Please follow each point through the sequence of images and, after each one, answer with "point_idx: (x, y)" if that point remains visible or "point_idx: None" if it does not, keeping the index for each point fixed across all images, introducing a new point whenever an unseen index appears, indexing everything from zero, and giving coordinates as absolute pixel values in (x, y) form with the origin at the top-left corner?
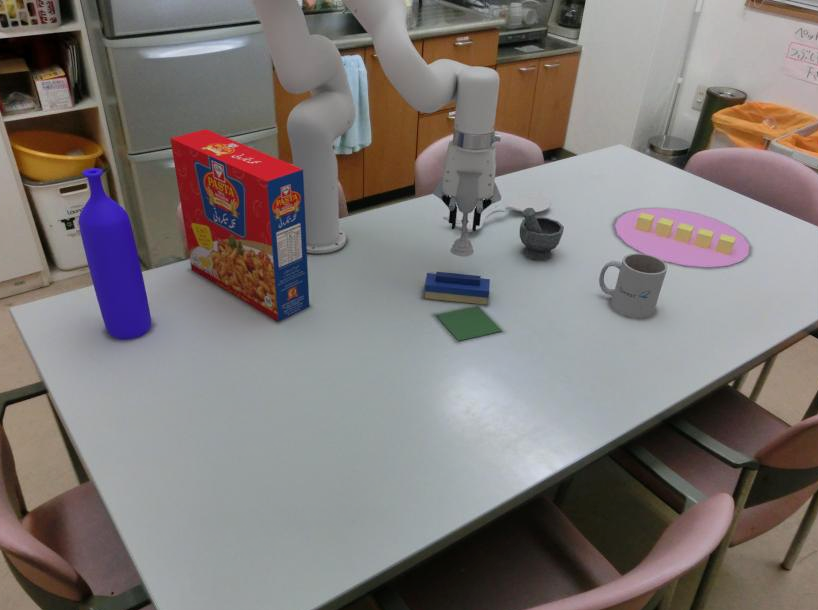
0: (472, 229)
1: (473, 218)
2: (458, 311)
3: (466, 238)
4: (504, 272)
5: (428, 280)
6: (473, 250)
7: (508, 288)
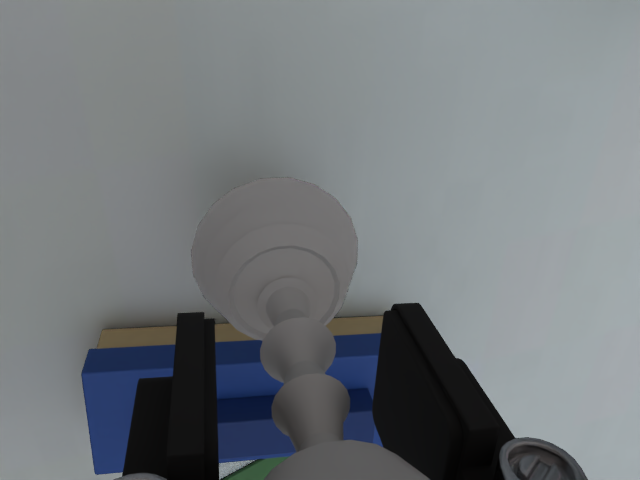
0: (376, 423)
1: (406, 437)
2: (267, 464)
3: (314, 299)
4: (502, 95)
5: (105, 439)
6: (355, 252)
7: (491, 249)
